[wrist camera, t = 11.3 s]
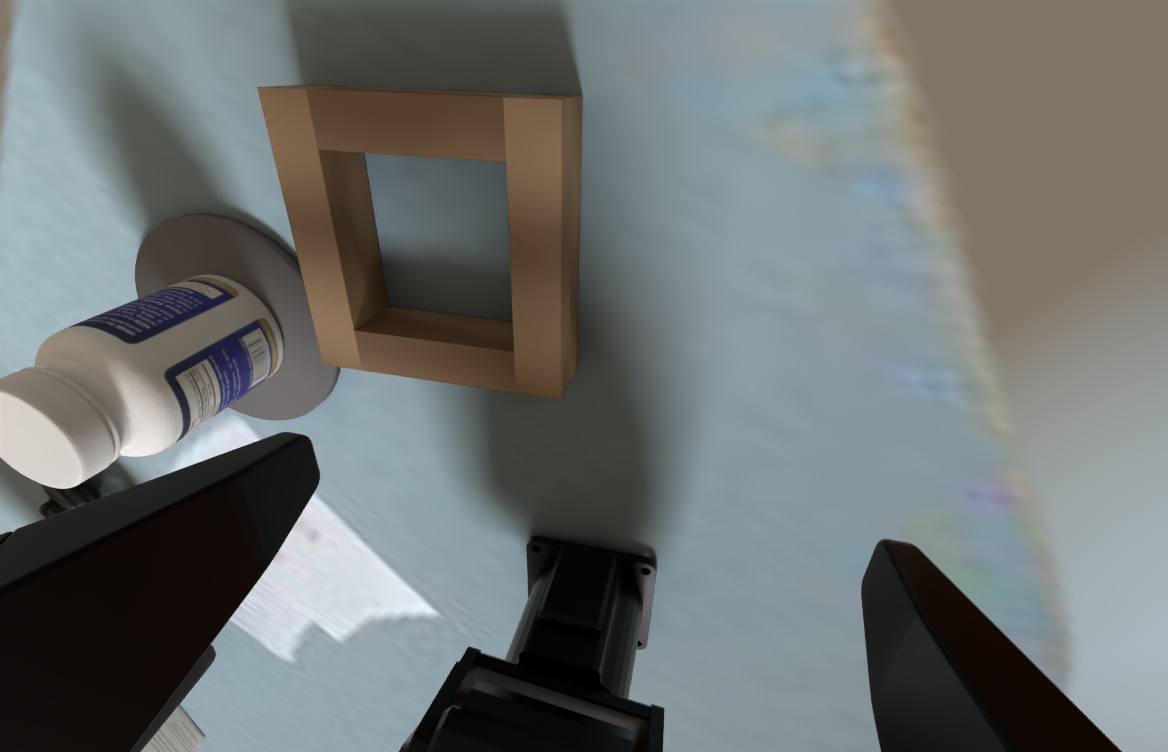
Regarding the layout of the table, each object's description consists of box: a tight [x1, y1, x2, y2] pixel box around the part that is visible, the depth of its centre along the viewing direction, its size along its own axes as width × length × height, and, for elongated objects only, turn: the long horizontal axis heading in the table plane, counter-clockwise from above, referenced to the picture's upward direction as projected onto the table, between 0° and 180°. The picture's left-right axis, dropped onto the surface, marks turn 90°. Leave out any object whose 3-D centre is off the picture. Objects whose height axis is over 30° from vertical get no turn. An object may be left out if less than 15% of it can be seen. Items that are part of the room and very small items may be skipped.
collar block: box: [257, 85, 582, 400], centre depth 20 cm, size 10×10×2 cm
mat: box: [135, 214, 340, 420], centre depth 25 cm, size 10×10×1 cm
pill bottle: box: [0, 275, 284, 489], centre depth 21 cm, size 5×5×9 cm
